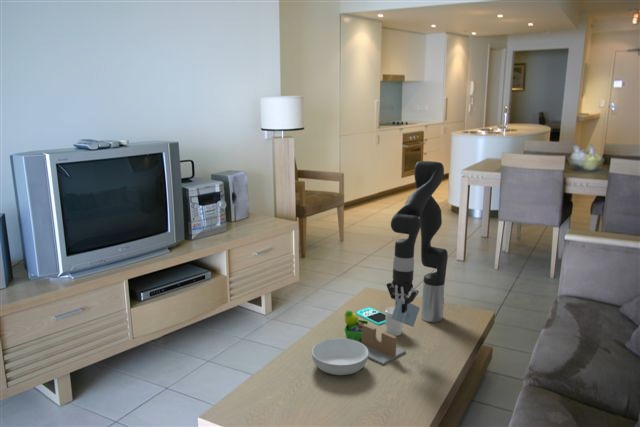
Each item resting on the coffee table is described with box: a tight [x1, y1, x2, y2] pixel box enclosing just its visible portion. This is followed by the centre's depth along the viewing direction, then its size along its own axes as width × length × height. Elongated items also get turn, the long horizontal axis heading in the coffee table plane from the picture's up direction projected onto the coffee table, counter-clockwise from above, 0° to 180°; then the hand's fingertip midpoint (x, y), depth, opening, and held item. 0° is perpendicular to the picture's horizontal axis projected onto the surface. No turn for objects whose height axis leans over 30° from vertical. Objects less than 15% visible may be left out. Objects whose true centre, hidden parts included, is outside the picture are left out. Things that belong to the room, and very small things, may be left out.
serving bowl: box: [311, 337, 369, 376], centre depth 192 cm, size 21×21×7 cm
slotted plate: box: [391, 298, 421, 328], centre depth 199 cm, size 14×2×8 cm, turn 137°
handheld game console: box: [356, 306, 386, 326], centre depth 237 cm, size 10×16×1 cm, turn 38°
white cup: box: [384, 306, 404, 337], centre depth 221 cm, size 8×8×10 cm
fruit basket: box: [343, 309, 369, 342], centre depth 216 cm, size 11×9×11 cm
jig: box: [360, 324, 406, 366], centre depth 204 cm, size 14×16×9 cm
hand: (400, 311), depth 196 cm, fingers closed on slotted plate, 1 cm apart
